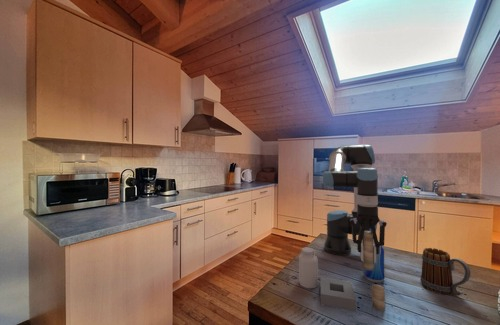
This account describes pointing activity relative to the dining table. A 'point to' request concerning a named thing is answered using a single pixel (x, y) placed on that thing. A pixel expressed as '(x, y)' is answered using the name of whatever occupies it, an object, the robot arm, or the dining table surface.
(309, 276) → the pill bottle
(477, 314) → the dining table surface
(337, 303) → the socket block
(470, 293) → the dining table surface
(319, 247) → the dining table surface
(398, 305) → the dining table surface
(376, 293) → the short dowel
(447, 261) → the mug
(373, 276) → the beer can
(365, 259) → the tall dowel
